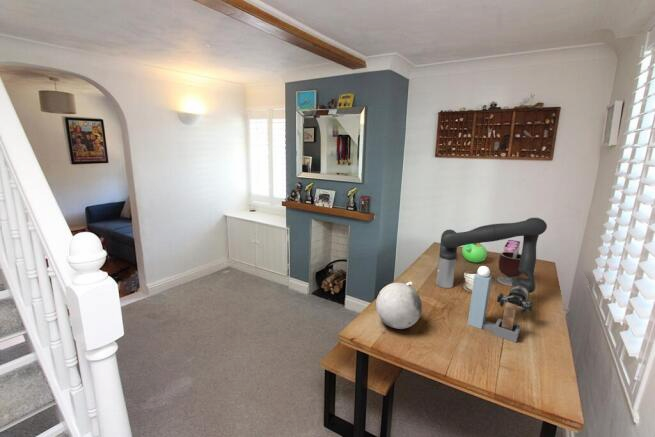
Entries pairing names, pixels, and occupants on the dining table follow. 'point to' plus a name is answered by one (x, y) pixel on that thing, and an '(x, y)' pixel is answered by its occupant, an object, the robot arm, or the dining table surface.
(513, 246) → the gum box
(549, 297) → the dining table surface
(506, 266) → the mate gourd
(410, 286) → the bull figurine
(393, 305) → the moon model
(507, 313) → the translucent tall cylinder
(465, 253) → the green rounded lump
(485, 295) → the post
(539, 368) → the dining table surface
